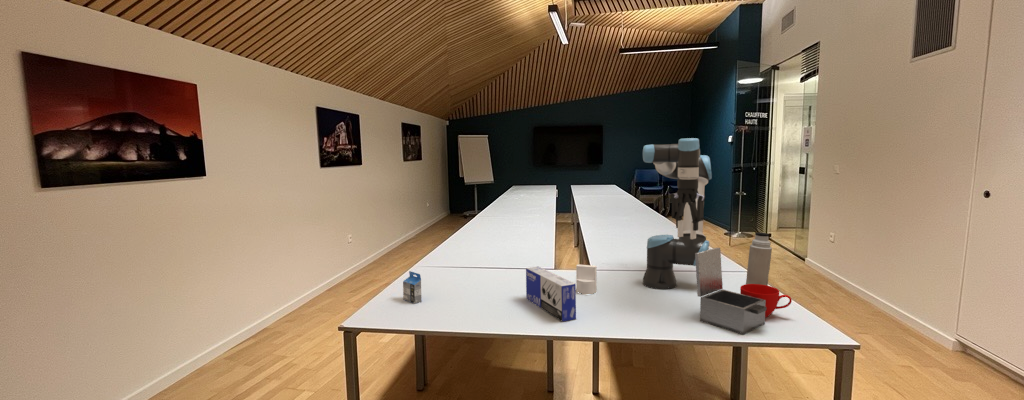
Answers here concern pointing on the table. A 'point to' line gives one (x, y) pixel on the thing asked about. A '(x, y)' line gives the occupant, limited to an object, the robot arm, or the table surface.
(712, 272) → the lid
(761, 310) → the grey rectangular box
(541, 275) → the ink box
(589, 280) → the base with upright slab
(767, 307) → the ceramic cup
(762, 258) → the thermos bottle
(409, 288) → the label tape box
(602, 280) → the table surface
